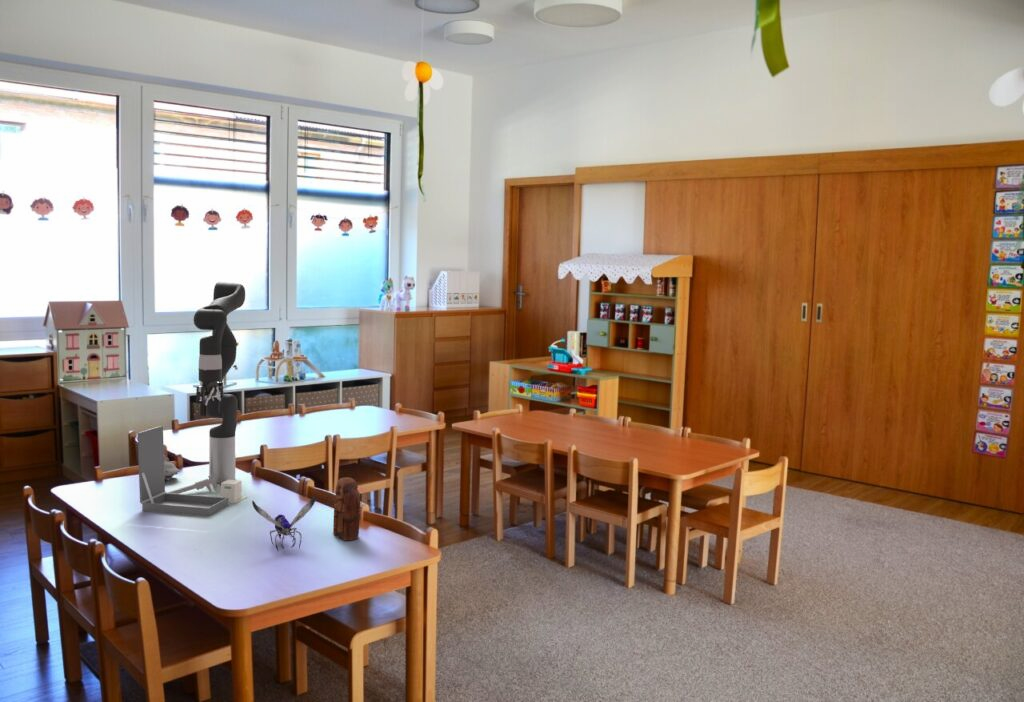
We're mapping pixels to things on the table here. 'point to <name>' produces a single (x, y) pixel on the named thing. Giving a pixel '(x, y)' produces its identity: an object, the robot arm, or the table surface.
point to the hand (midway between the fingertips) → (210, 413)
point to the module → (231, 489)
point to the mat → (237, 500)
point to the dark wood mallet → (346, 509)
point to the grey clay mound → (169, 469)
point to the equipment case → (154, 482)
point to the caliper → (198, 485)
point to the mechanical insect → (285, 521)
